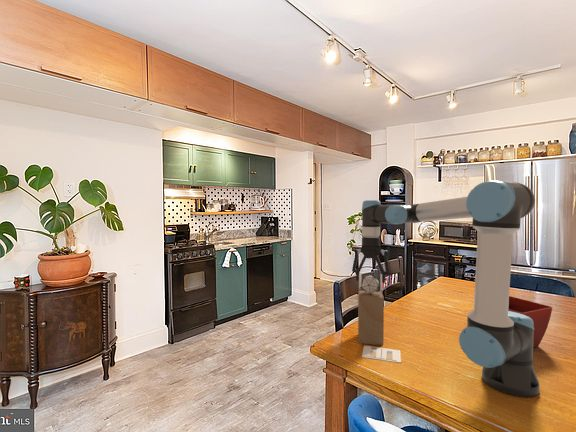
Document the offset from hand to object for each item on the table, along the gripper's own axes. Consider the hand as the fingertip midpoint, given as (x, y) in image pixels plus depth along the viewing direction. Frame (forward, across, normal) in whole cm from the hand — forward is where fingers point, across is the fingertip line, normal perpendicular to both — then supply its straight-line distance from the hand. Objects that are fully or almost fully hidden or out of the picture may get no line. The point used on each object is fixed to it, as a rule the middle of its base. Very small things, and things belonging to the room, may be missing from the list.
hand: (370, 289), depth 134 cm
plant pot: (+22, -57, -16) cm, 63 cm away
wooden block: (+22, 0, 0) cm, 22 cm away
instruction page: (+22, -5, +12) cm, 26 cm away
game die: (+2, 0, 0) cm, 2 cm away
